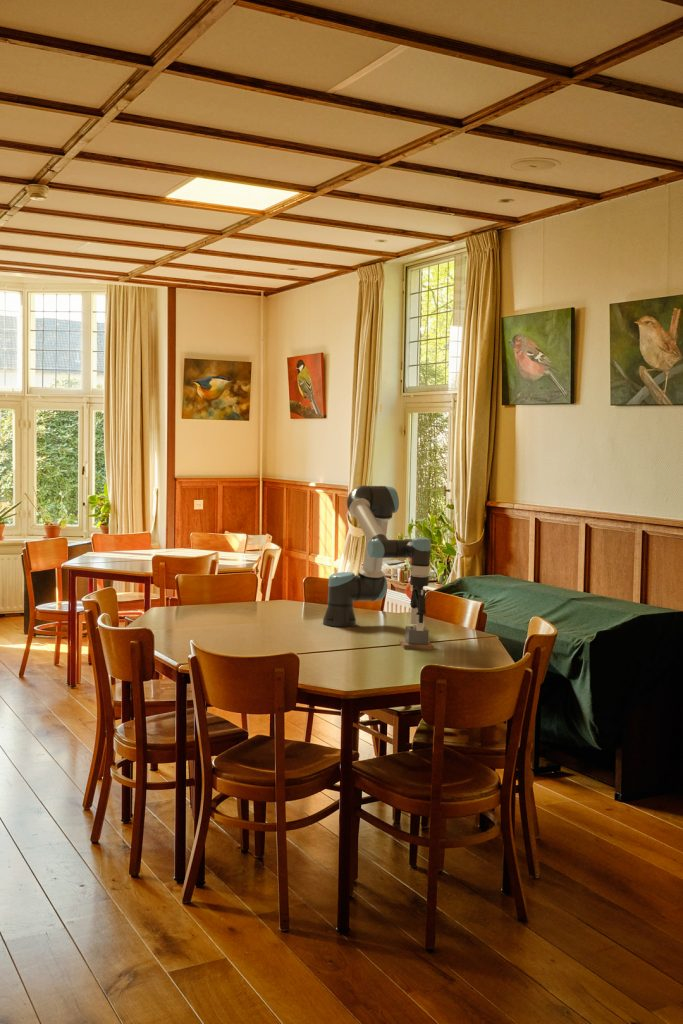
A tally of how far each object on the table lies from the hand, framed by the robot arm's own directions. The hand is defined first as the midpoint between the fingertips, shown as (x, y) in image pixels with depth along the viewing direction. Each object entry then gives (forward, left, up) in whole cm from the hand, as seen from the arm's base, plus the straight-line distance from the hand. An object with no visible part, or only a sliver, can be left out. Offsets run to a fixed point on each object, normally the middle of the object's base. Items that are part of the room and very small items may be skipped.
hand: (416, 627), depth 409 cm
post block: (0, 0, -8) cm, 8 cm away
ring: (0, 0, -6) cm, 6 cm away
